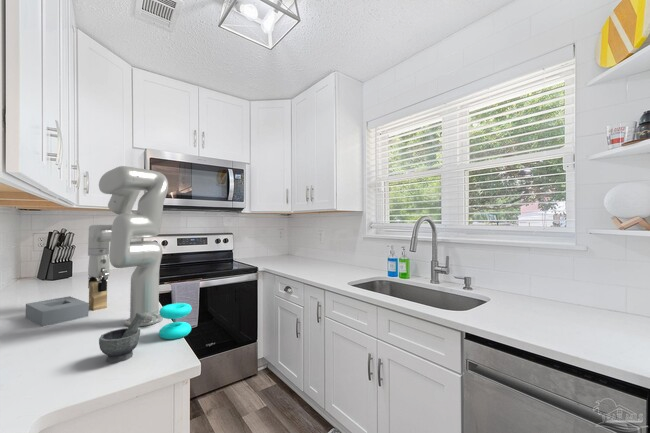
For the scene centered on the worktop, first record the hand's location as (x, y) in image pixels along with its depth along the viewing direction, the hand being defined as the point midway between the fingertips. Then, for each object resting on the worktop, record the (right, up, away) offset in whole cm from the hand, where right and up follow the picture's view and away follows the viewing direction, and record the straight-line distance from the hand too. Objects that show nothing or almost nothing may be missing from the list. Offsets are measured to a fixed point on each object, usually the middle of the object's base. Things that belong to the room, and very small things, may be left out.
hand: (97, 289), depth 131 cm
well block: (-7, -8, -12) cm, 16 cm away
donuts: (+51, -8, -31) cm, 60 cm away
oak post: (0, -8, 0) cm, 8 cm away
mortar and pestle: (+45, -8, -47) cm, 65 cm away
